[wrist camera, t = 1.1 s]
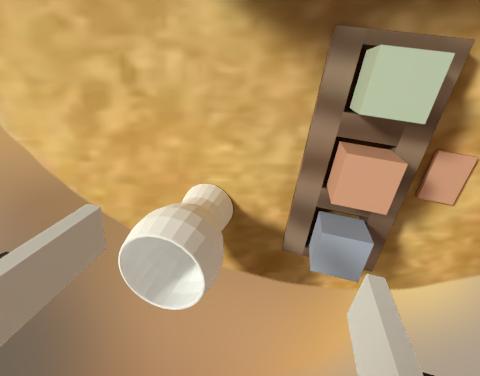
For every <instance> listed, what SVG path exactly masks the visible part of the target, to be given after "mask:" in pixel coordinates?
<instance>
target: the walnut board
mask: <svg viewBox="0 0 480 376" xmlns="http://www.w3.org/2000/svg"><path fill="white" fill-rule="evenodd" d="M474 41H475V40H473V39H464V38H455V37H445V36H436V35H426V34H417V33H408V32H398V31H389V30H379V29H370V28H361V27H351V26H342V25H336V27H335V28H334V30H333V33H332V37H331V41H330V46H329V50H328V54H327V58H326V62H325V67H324V71H323V75H322V79H321V83H320V87H319V92H318V96H317V100H316V104H315V108H314V113H313V117H312V121H311V125H310V129H309V134H308V138H307V142H306V146H305V150H304V154H303V159H302V163H301V167H300V171H299V175H298V180H297V184H296V188H295V192H294V196H293V201H292V205H291V209H290V213H289V217H288V221H287V226H286V230H285V234H284V238H283V247H282V250H283V251H287V252H291V253H296V254H300V255H304V256H308V257H310V255H309V244H310V240H311V237H310V236H308V233H309V230H310V226H311V223H312V219H313V216H314V212H315V209H316V207H320V208H325V209H330V210H335V211H339V212H344V213H349V214H354V215H358V216H360V218H359V219H360V220H364V222H365V225H366V227H367V229H368V231H369V234H370V236H371V238H372V241H373V243H374V245H373V248H372V250H371V252H370V255H369V257H368V259H367V262H366V264H365V266H364V269H363V270H367V271H372V270H373V268H374V265H375V263H376V261H377V259H378V256H379V254H380V252H381V250H382V247H383V245H384V243H385V241H386V238H387V236H388V234H389V232H390V230H391V227H392V225H393V223H394V221H395V218H396V216H397V214H398V212H399V209H400V207H401V205H402V203H403V200H404V198H405V196H406V194H407V191H408V189H409V187H410V185H411V182H412V180H413V178H414V176H415V173H416V171H417V169H418V167H419V164H420V162H421V160H422V158H423V155H424V153H425V151H426V149H427V147H428V144H429V142H430V140H431V138H432V135H433V133H434V131H435V129H436V126H437V124H438V122H439V120H440V117H441V115H442V113H443V111H444V108H445V106H446V104H447V102H448V99H449V97H450V95H451V93H452V90H453V88H454V86H455V84H456V81H457V79H458V77H459V75H460V72H461V70H462V68H463V66H464V63H465V61H466V59H467V57H468V55H469V52H470V50H471V48H472V46H473V43H474ZM379 45H389V46H397V47H406V48H415V49H424V50H432V51H441V52H450V53H455V55H454V57H453V60H452V62H451V64H450V67H449V69H448V71H447V74H446V76H445V78H444V81H443V83H442V85H441V88H440V90H439V93H438V95H437V97H436V100H435V102H434V104H433V107H432V109H431V111H430V114H429V116H428V118H427V121H426V123H425V124H419V123H413V122H406V121H400V120H393V119H387V118H380V117H374V116H367V115H361V114H358V113H356V112H355V111H350V110H344V108H345V104H346V101H347V97H348V94H349V90H350V87H351V83H352V80H353V76H354V73H355V69H356V66H357V62H358V59H359V55H360V52H361V48H368V49H371V48H374V47H376V46H379ZM336 136H339V137H345V138H351V139H357V140H362V141H368V142H374V143H380V144H386V145H387V146H386V149H388V150H391V151H393V152H394V153H395V154H396V155H398V156H399V157H400V158H401V159H402V160H404V161H405V162H406V163H407V164H408V165H407V168H406V170H405V172H404V175H403V177H402V179H401V182H400V184H399V187H398V189H397V191H396V194H395V196H394V198H393V201H392V203H391V205H390V208H389V210H388V212H387V215H384V214H379V213H374V212H370V211H365V210H360V209H355V208H350V207H345V206H340V205H336V204H331V201H330V197H329V192H328V188H327V183H328V181H327V180H324V178H325V174H326V171H327V167H328V164H329V160H330V157H331V153H332V150H333V146H334V143H335V139H336Z"/></svg>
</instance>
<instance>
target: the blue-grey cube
mask: <svg viewBox="0 0 480 376" xmlns="http://www.w3.org/2000/svg"><path fill="white" fill-rule="evenodd" d="M373 245H374V243H373V241H372V238H371V236H370V234H369V231H368V229H367V227H366V225H365V222H364V220H360V219H355V218H350V217H346V216H341V215H336V214H331V213H327V212H322V211H319V213H318V217H317V220H316V223H315V227H314V230H313V234H312V237H311V240H310V244H309V255H310V271H314V272H318V273H322V274H326V275H330V276H335V277H339V278H343V279H347V280H351V281H355V282H358V281H359V278H360V276H361V274H362V271H363V269H364V266H365V264H366V262H367V259H368V257H369V255H370V252H371V250H372V248H373Z"/></svg>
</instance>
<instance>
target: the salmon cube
mask: <svg viewBox="0 0 480 376" xmlns="http://www.w3.org/2000/svg"><path fill="white" fill-rule="evenodd" d="M407 165H408V164H407V163H406V162H405V161H404V160H402V159H401V158H400V157H399V156H398V155H396V154H395V153H394V152H393V151H391V150H388V149H382V148H376V147H370V146H364V145H358V144H353V143H347V142H341V141H340V142H339V145H338V149H337V152H336V156H335V159H334V162H333V166H332V169H331V173H330V176H329V179H328V183H327V188H328V192H329V197H330V201H331V204H336V205H340V206H345V207H350V208H355V209H360V210H365V211H370V212H374V213H379V214H384V215H387V212H388V210H389V208H390V205H391V203H392V201H393V198H394V196H395V194H396V191H397V189H398V187H399V184H400V182H401V179H402V177H403V175H404V172H405V170H406V168H407Z"/></svg>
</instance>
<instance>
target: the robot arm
mask: <svg viewBox="0 0 480 376" xmlns="http://www.w3.org/2000/svg"><path fill="white" fill-rule="evenodd" d="M104 250H106V245H105V237H104V229H103V221H102V213H101V207H99V206H95V205H91V204H86V205H84V206H83V207H81V208H80V209H78V210H76V211H75V212H73V213H72V214H70V215H69V216H67V217H65V218H64V219H62V220H61V221H59V222H57V223H56V224H54V225H53V226H51V227H50V228H48V229H46V230H45V231H44V232H42V233H40V234H38V235H37V236H35V237H34V238H32V239H30V240H29V241H28V242H26V243H24V244H23V245H21V246H19V247H18V248H16V249H15V250H13V251H11V252H10V253H9V252H5V253H2V254H0V346H2V345H3V344H4V343H5V342H6V341H7V340H8V339H9V338H10V337H11V336H12V335H14V334H15V333H16V332H17V331H18V330H19V329H20V328H21V327H22V326H23V325H24V324H25V323H27V321H29V320H30V319H31V318H32V317H33V316H34V315H35V314H36V313H37V312H38V311H40V309H42V308H43V307H44V306H45V305H46V304H47V303H48V302H49V301H50V300H51V299H52V298H54V297H55V296H56V295H57V294H58V293H59V292H60V291H61V290H62V289H63V288H64V287H65V286H67V285H68V284H69V283H70V282H71V281H72V280H73V279H74V278H75V277H76V276H77V275H78V274H80V273H81V272H82V271H83V270H84V269H85V268H86V267H87V266H88V265H89V264H90V263H91V262H92V261H94V260H95V259H96V258H97V257H98V256H99V255H100V254H101V253H102V252H103V251H104ZM347 319H348V324H349V330H350V335H351V341H352V346H353V351H354V357H355V363H356V368H357V374H358V376H434V375H430V374H427V373H423V372H422V371H421V368H420V366H419V363H418V361H417V358H416V356H415V353H414V350H413V348H412V345H411V343H410V340H409V338H408V335H407V333H406V330H405V328H404V325H403V323H402V320H401V317H400V315H399V312H398V310H397V307H396V305H395V302H394V300H393V297H392V295H391V292H390V290H389V287H388V285H387V282H386V279H385V278H383V277H379V276H375V275H371V274H366V276H365V278H364V280H363V282H362V284H361V286H360V289H359V291H358V293H357V295H356V297H355V299H354V301H353V303H352V305H351V307H350V309H349V311H348V314H347Z"/></svg>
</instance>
